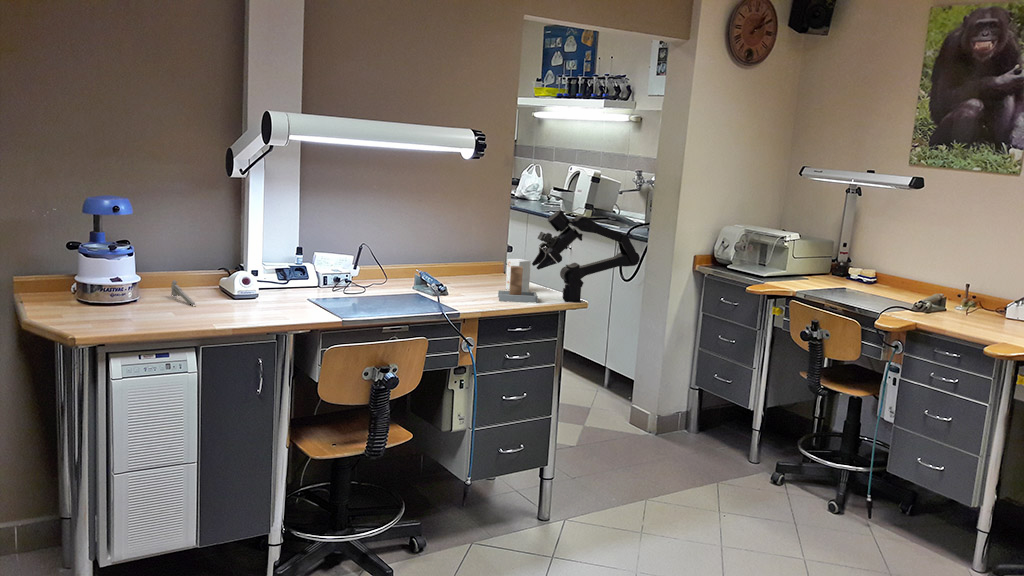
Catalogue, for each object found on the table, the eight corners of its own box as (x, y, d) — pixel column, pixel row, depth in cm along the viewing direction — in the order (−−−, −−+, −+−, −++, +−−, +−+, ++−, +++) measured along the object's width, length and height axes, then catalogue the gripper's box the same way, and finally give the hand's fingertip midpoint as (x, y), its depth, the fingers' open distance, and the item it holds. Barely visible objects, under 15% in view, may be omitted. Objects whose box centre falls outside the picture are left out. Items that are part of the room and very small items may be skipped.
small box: (529, 291, 347) (531, 260, 345) (517, 292, 343) (519, 261, 341) (516, 288, 353) (518, 257, 351) (505, 289, 349) (507, 258, 347)
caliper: (171, 296, 299) (170, 279, 297) (174, 296, 299) (174, 279, 298) (193, 307, 284) (193, 289, 283) (196, 307, 284) (196, 289, 283)
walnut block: (520, 298, 331) (522, 266, 329) (520, 300, 327) (522, 268, 324) (509, 298, 331) (510, 265, 328) (509, 300, 326) (511, 267, 324)
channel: (535, 298, 334) (535, 292, 333) (537, 302, 324) (537, 296, 324) (498, 296, 333) (498, 290, 332) (498, 301, 324) (499, 294, 323)
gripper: (545, 222, 334) (517, 248, 335) (556, 227, 316) (525, 255, 316) (563, 242, 337) (535, 268, 337) (574, 249, 319) (544, 276, 319)
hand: (534, 266), depth 327 cm, fingers open, 9 cm apart
